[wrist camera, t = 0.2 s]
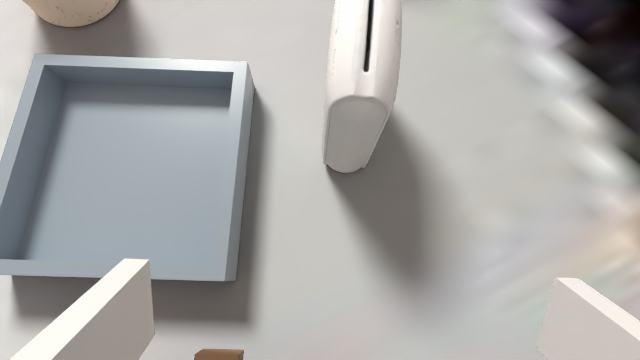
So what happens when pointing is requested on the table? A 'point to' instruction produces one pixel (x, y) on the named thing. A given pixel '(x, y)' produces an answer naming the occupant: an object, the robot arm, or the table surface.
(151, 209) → the slate tray
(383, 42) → the photo printer
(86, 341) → the robot arm
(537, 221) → the table surface
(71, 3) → the teacup with lid
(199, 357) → the walnut ring
